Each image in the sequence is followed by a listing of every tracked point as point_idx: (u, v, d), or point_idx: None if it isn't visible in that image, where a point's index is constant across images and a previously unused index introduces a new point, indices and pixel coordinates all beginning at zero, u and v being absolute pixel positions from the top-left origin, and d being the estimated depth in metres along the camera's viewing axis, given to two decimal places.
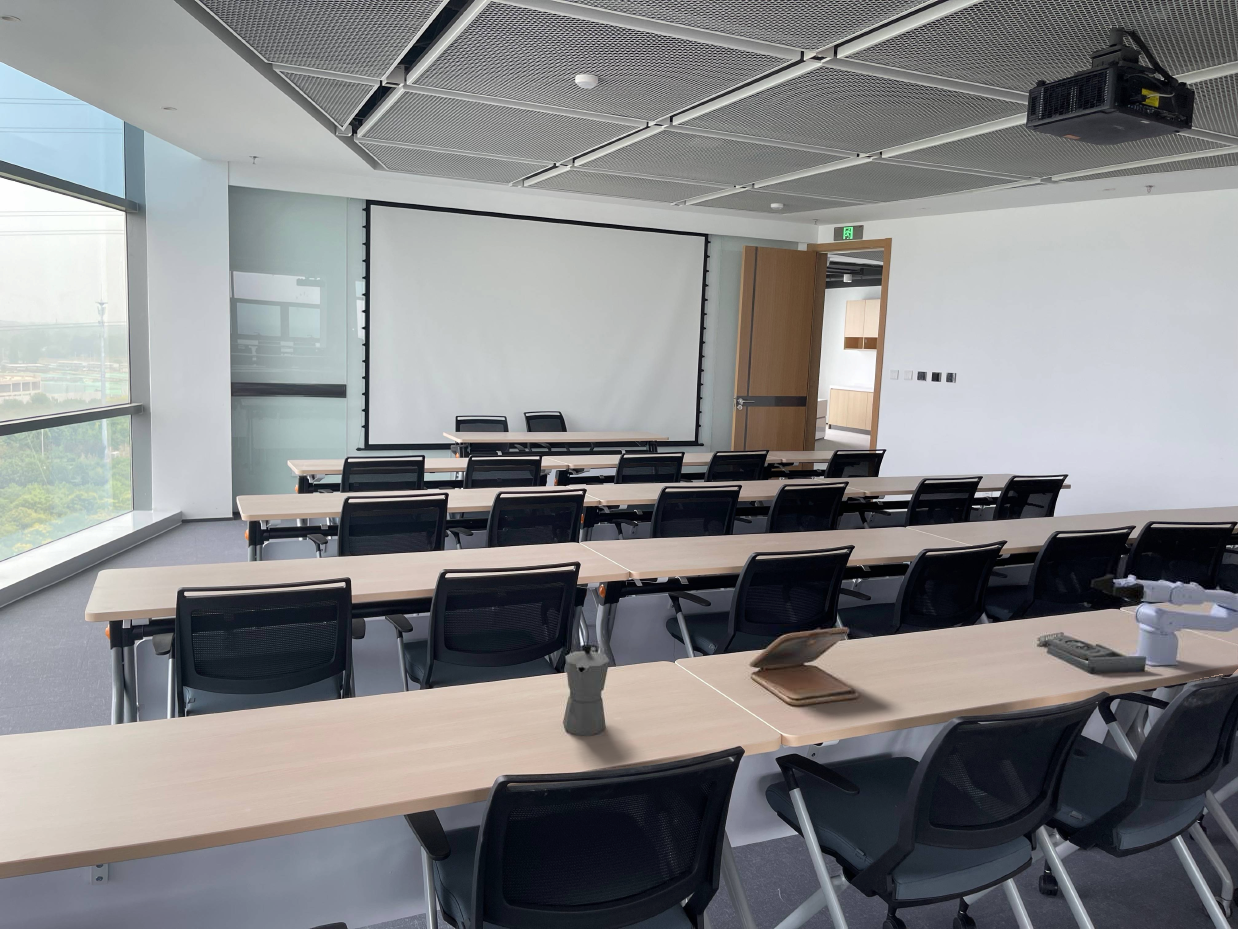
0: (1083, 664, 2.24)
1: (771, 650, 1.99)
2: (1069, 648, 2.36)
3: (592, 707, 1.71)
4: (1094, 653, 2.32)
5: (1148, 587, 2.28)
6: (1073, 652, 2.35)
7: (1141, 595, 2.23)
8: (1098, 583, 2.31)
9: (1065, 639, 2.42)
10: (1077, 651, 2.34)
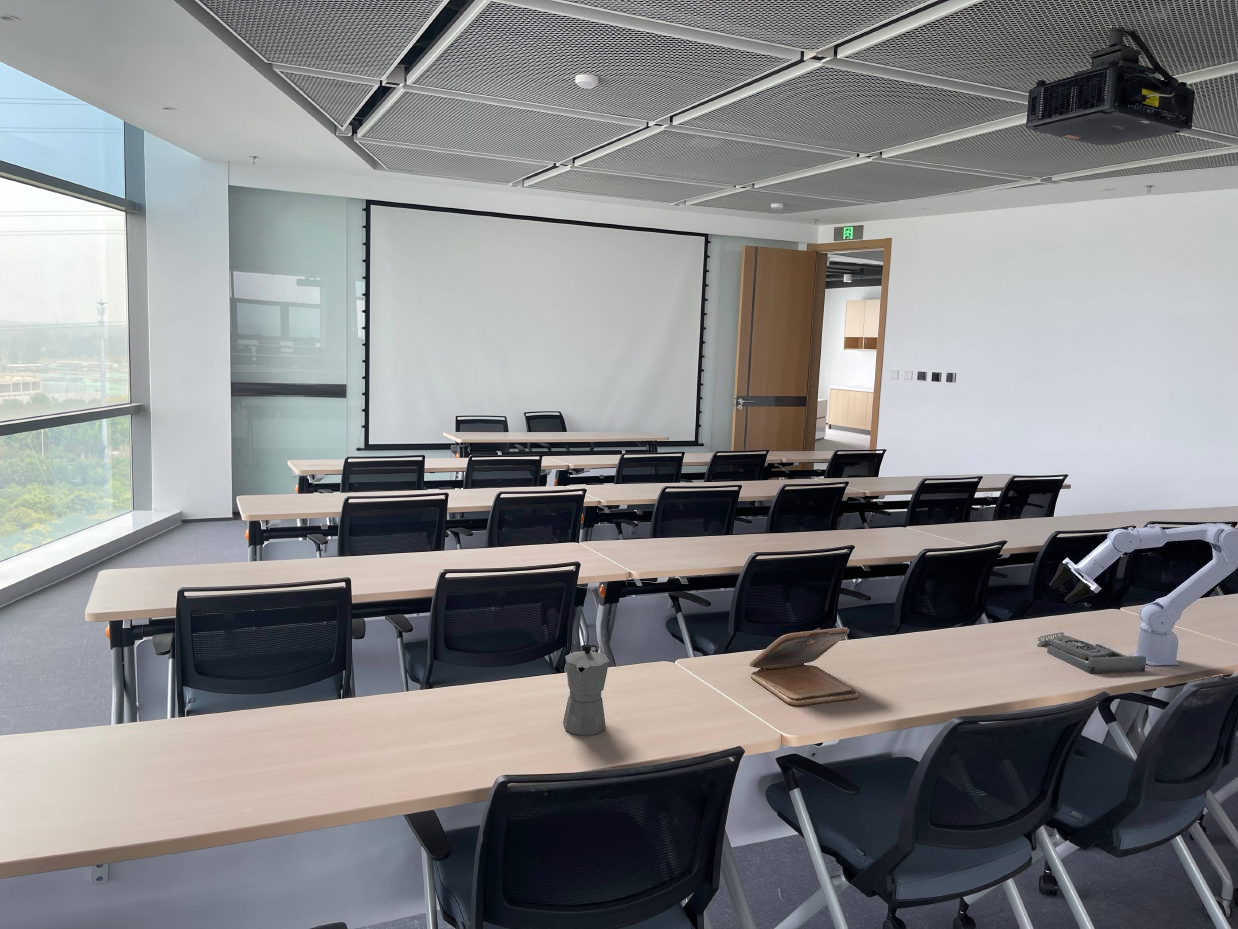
0: (1083, 664, 2.24)
1: (771, 650, 1.99)
2: (1069, 648, 2.36)
3: (592, 707, 1.71)
4: (1094, 653, 2.32)
5: (1095, 567, 2.33)
6: (1073, 652, 2.35)
7: (1090, 590, 2.32)
8: (1055, 583, 2.42)
9: (1065, 639, 2.42)
10: (1077, 651, 2.34)
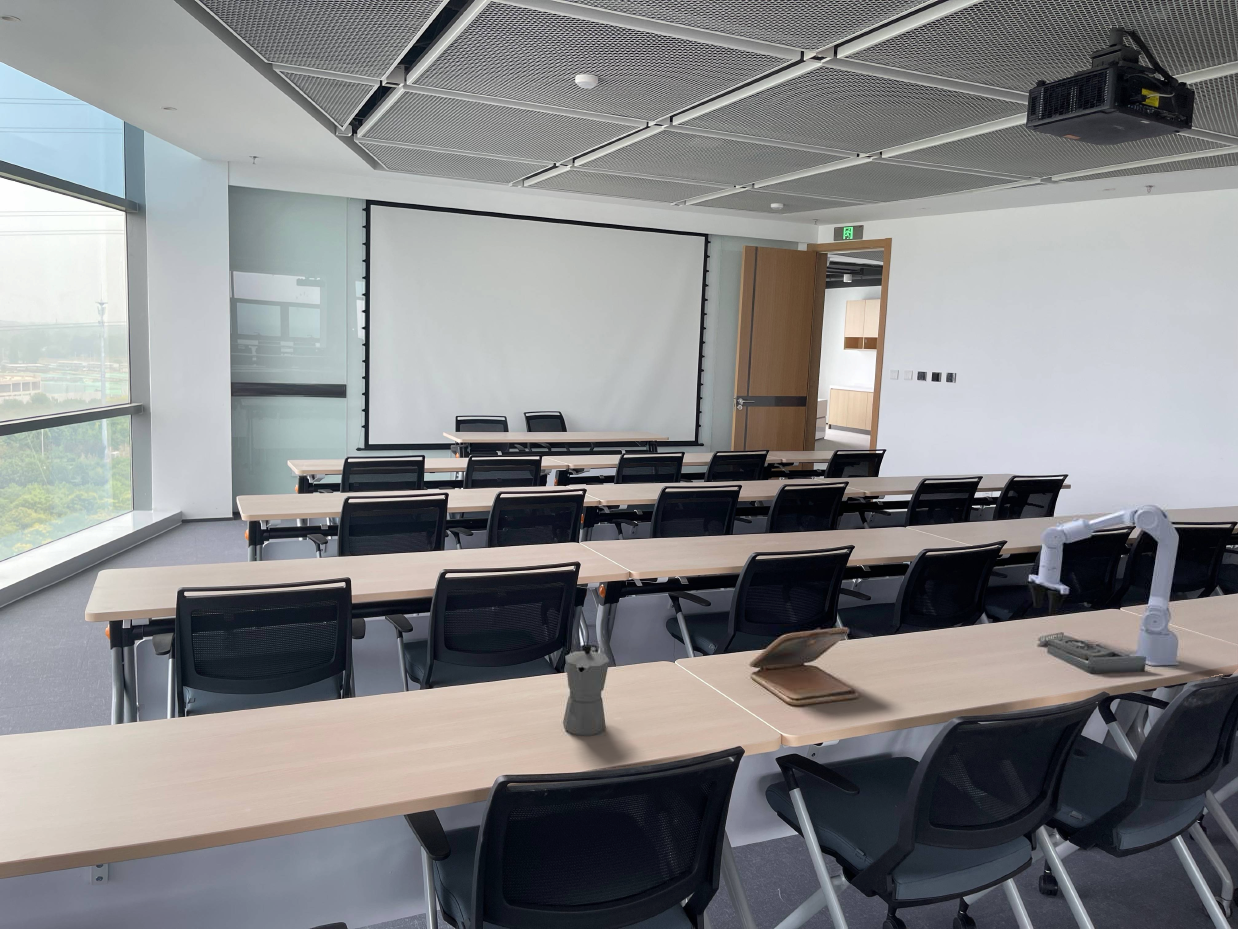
0: (1083, 664, 2.24)
1: (771, 650, 1.99)
2: (1070, 648, 2.36)
3: (592, 707, 1.71)
4: (1095, 653, 2.32)
5: (1051, 572, 2.46)
6: (1074, 652, 2.35)
7: (1061, 594, 2.44)
8: (1038, 602, 2.53)
9: (1065, 639, 2.42)
10: (1078, 651, 2.34)
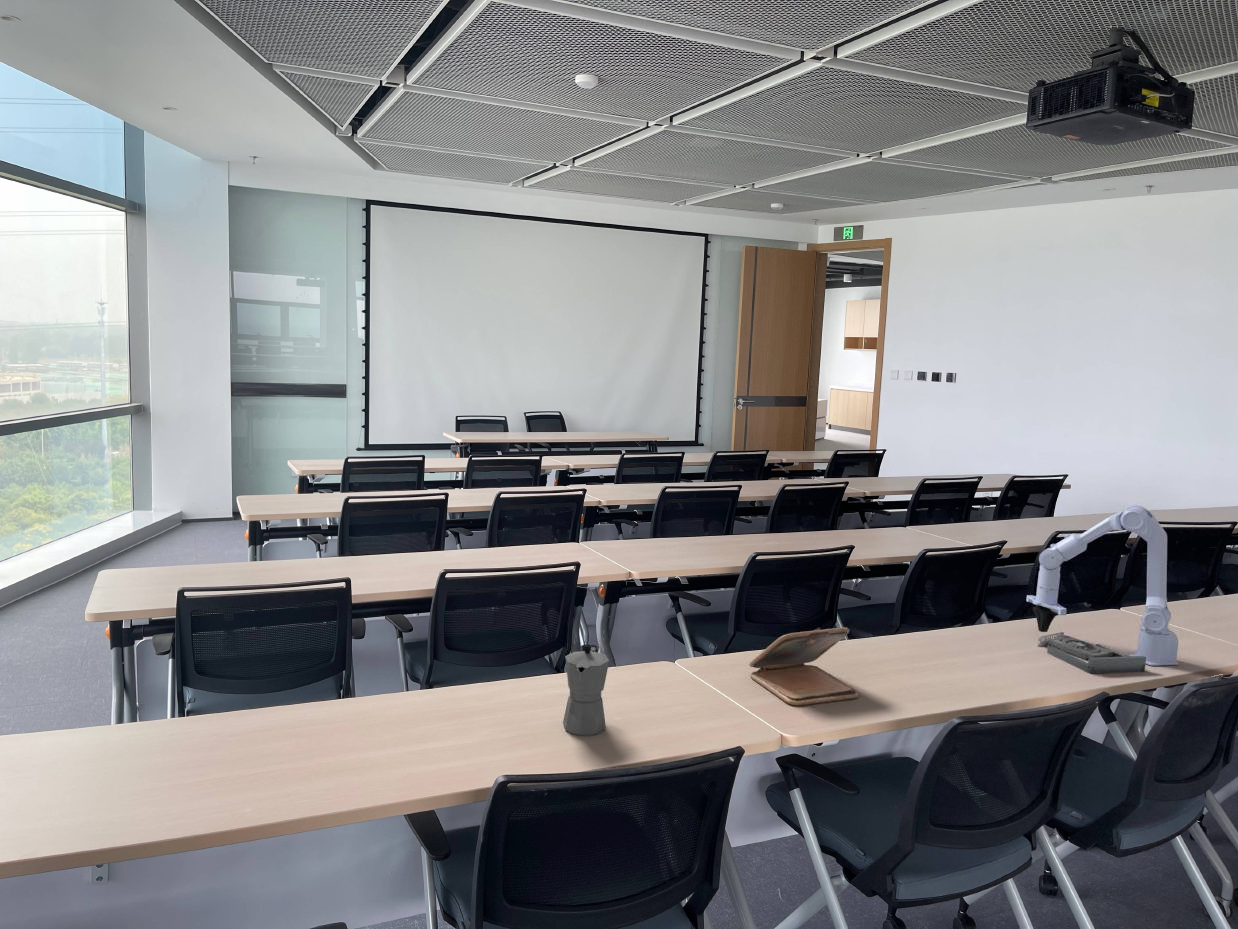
0: (1083, 664, 2.24)
1: (771, 650, 1.99)
2: (1070, 648, 2.36)
3: (592, 707, 1.71)
4: (1095, 653, 2.32)
5: (1048, 593, 2.47)
6: (1074, 652, 2.35)
7: (1051, 612, 2.47)
8: None
9: (1066, 639, 2.42)
10: (1078, 651, 2.34)
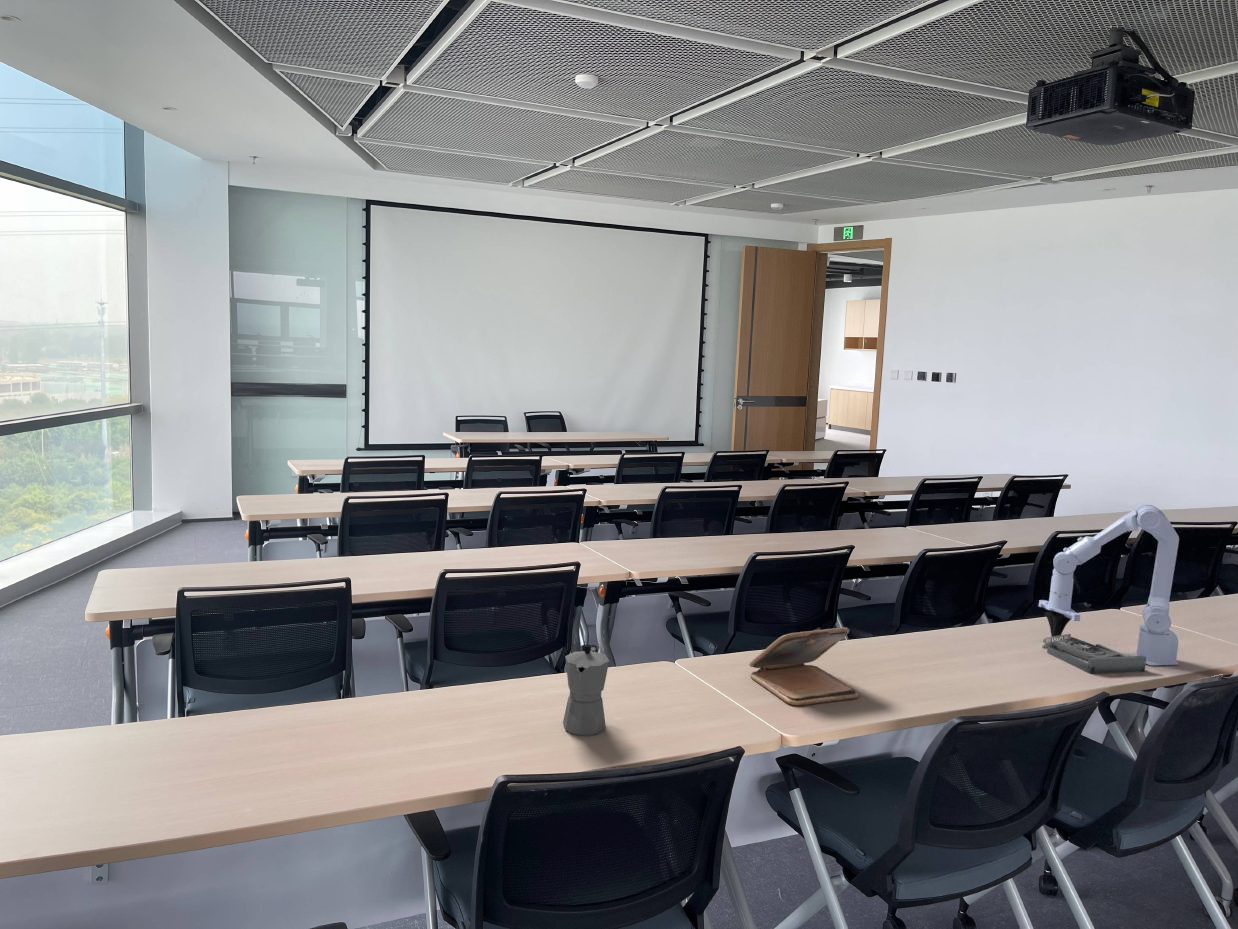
0: (1083, 664, 2.24)
1: (771, 650, 1.99)
2: (1074, 650, 2.34)
3: (592, 707, 1.71)
4: (1099, 655, 2.30)
5: (1062, 599, 2.41)
6: (1078, 654, 2.33)
7: (1064, 617, 2.42)
8: None
9: (1071, 641, 2.41)
10: (1082, 653, 2.32)
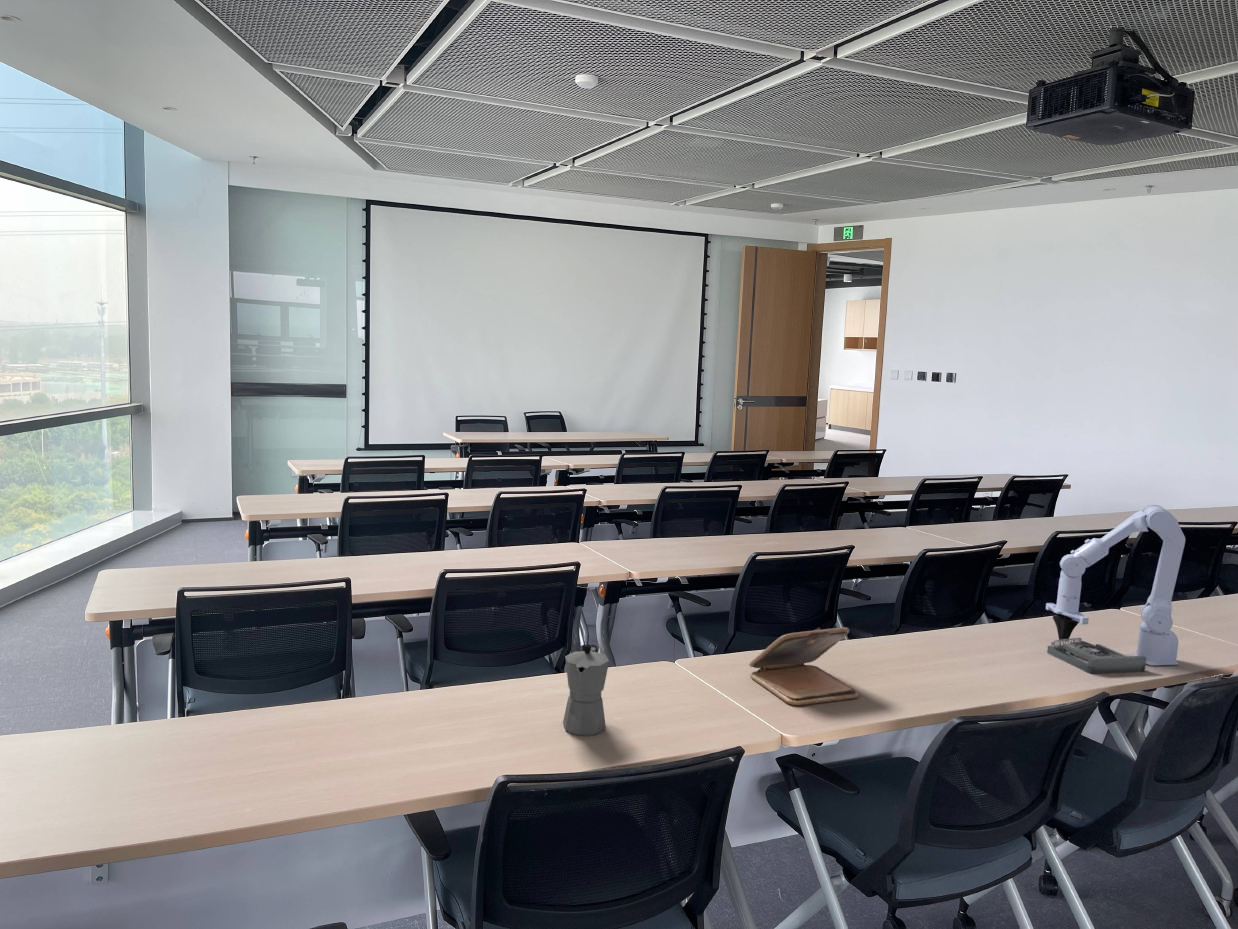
0: (1083, 664, 2.24)
1: (771, 650, 1.99)
2: (1082, 653, 2.32)
3: (592, 707, 1.71)
4: None
5: (1069, 602, 2.38)
6: (1086, 657, 2.31)
7: (1072, 621, 2.39)
8: None
9: (1081, 644, 2.38)
10: (1090, 656, 2.30)
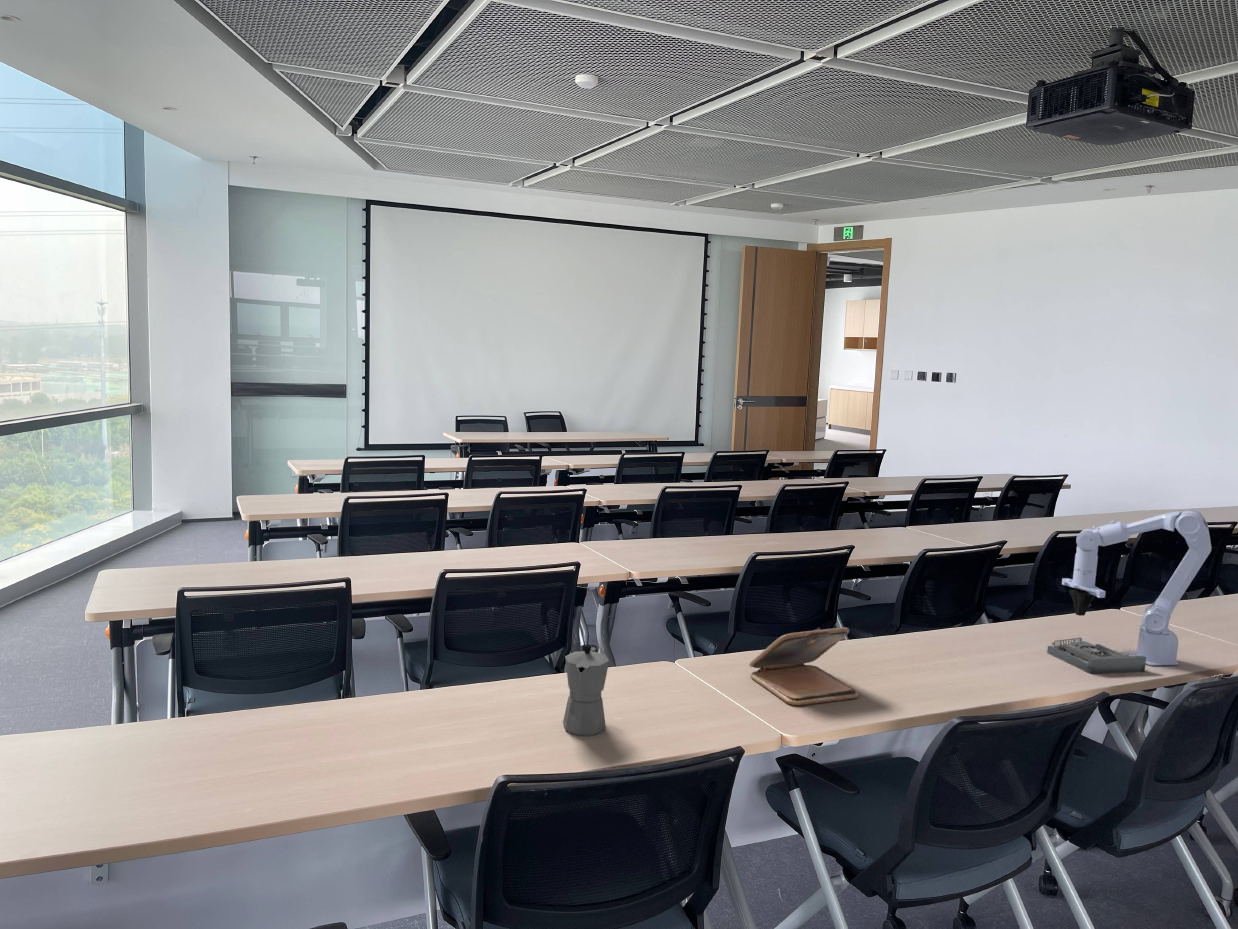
0: (1083, 664, 2.24)
1: (771, 650, 1.99)
2: (1083, 653, 2.32)
3: (592, 707, 1.71)
4: None
5: (1086, 576, 2.40)
6: (1087, 657, 2.31)
7: (1089, 595, 2.41)
8: None
9: (1082, 644, 2.38)
10: (1091, 657, 2.30)
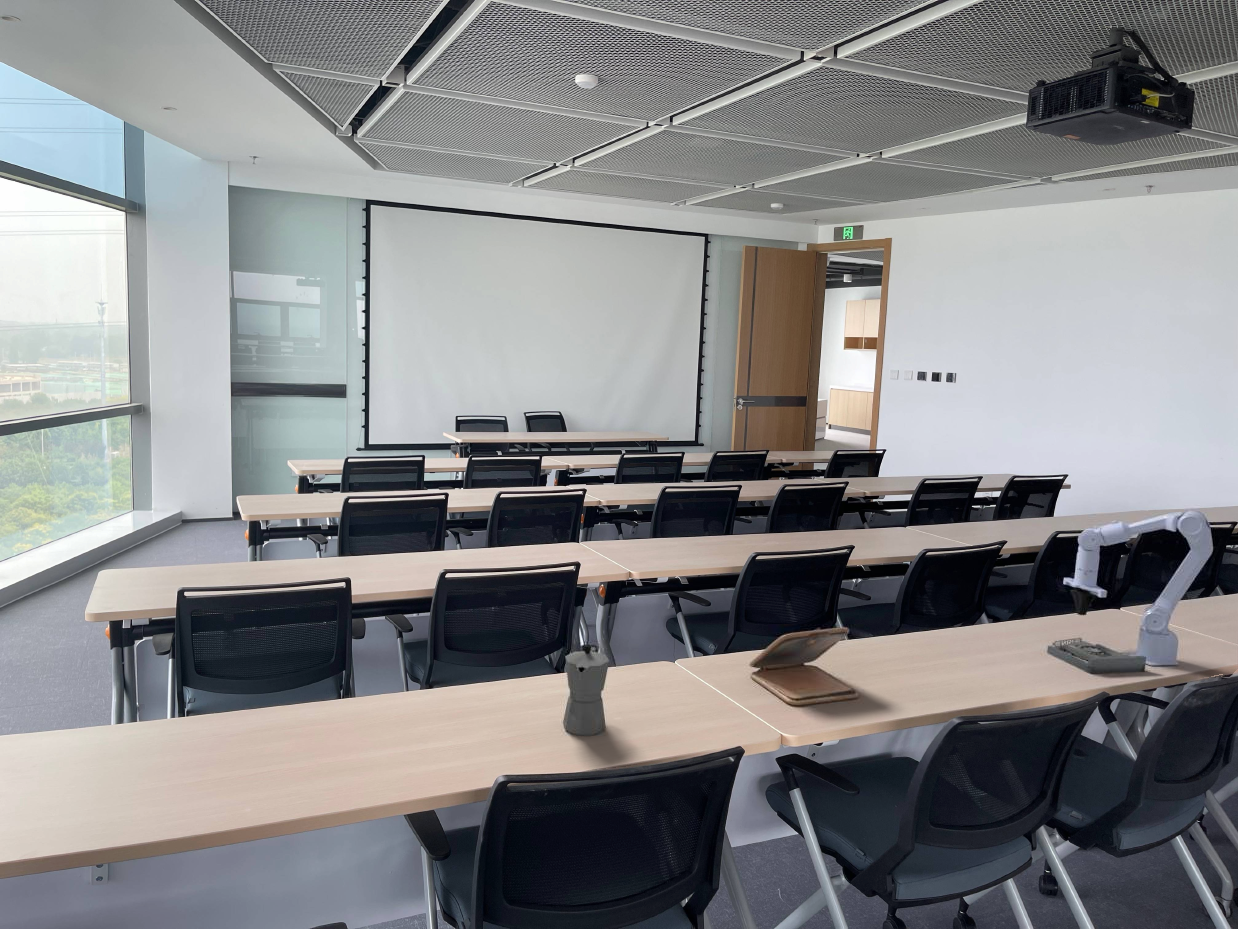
0: (1083, 664, 2.24)
1: (771, 650, 1.99)
2: (1084, 653, 2.32)
3: (592, 707, 1.71)
4: None
5: (1087, 575, 2.40)
6: (1087, 658, 2.31)
7: (1090, 594, 2.41)
8: None
9: (1082, 645, 2.38)
10: (1091, 657, 2.30)
